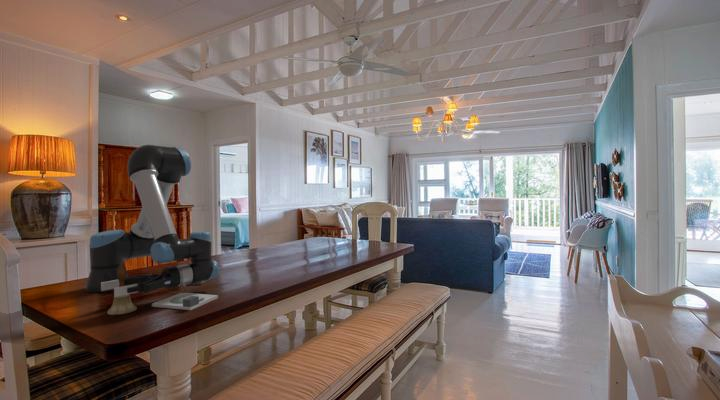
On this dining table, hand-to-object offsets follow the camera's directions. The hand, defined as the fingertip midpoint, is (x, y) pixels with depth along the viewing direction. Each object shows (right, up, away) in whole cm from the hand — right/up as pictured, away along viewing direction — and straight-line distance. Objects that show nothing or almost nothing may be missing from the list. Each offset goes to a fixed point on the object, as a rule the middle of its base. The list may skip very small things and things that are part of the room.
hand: (107, 289), depth 115 cm
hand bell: (+3, -8, +3) cm, 9 cm away
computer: (+11, -8, +44) cm, 46 cm away
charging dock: (+20, -8, +12) cm, 24 cm away
